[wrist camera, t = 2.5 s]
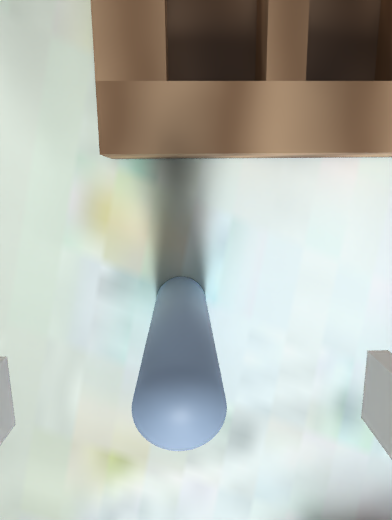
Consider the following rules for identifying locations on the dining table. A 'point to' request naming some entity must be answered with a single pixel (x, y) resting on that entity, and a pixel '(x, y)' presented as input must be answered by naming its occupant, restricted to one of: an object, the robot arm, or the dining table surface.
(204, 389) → the peg
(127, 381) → the dining table surface
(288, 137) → the hole block
